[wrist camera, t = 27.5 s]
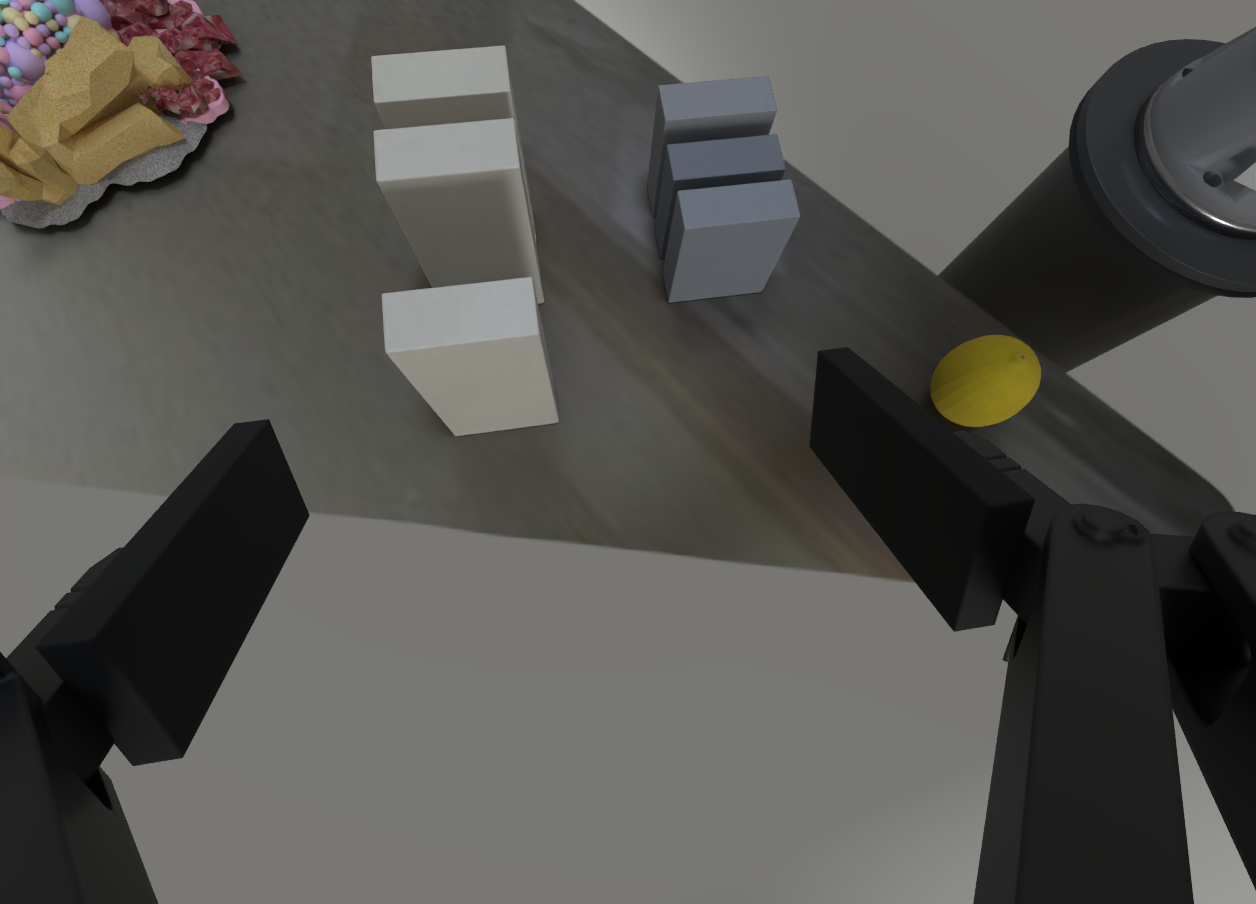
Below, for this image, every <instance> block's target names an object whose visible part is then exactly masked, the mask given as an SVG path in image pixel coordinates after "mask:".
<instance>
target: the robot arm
mask: <svg viewBox="0 0 1256 904" xmlns="http://www.w3.org/2000/svg"><path fill="white" fill-rule="evenodd" d="M1134 139H1135V147H1136V152H1137V156H1138V159H1139V161H1140V164H1141V166H1142V168H1143V171H1144V172H1145V174H1146V176H1147V178H1148V179H1149V181H1150V182H1151V184H1152V185H1153V187H1154V188H1155V189H1156V190H1157V192H1158V193H1159V194H1160V195H1161V196H1162V197H1163V198H1164V199H1165V200H1166V201H1167V202H1168V203H1169V204H1170V205H1171V206H1172V207H1173V208H1174V209H1176V210H1177V211H1178V212H1180V213H1181V214H1182V215H1184V216H1185V217H1187V218H1188V219H1190V220H1191V221H1193V222H1195V223H1197V224H1198V225H1200V226H1202V227H1205V228H1207V229H1209V230H1211V231H1214V232H1217V233H1219V234H1223V235H1226V236H1230V237H1235V238H1241V239H1252V240H1256V27H1255V28H1253V29H1251V30H1249V31H1248V32H1246V33H1244V34H1242V35H1241V36H1239V37H1237V38H1235V39H1233V40H1231V41H1230V42H1228V43H1226V44H1224V45H1222V46H1221V47H1219V48H1217V49H1216V50H1214V51H1212V52H1211V53H1209V54H1207V55H1206V56H1204V57H1202V58H1199V59H1197V60H1195V61H1194V62H1192V63H1190V64H1188V65H1186V66H1185V67H1183V68H1182V69H1181V70H1179V71H1178V72H1176V73H1175V74H1173V75H1172V76H1171V77H1169V78H1168V79H1167V80H1166V81H1165V82H1164V83H1163V84H1162V85H1161V86H1159V87H1158V88H1157V89H1156V90H1155V91H1154V92H1153V93H1152V94H1151V95H1150V96H1149V97H1148V98H1147V99H1146V101H1145V102H1144V103H1143V105H1142V107H1141V109H1140V111H1139V113H1138V116H1137V119H1136V123H1135V130H1134ZM810 448H811V449H812V451H813V452H814V453H815V455H816V456H817V457H818V458H819V460H820V461H821V462H822V463H823V465H824V466H825V467H826V469H827V470H828V471H829V472H830V474H831V475H832V476H833V478H834V479H835V480H836V481H837V483H838V484H839V485H840V487H841V488H842V489H843V490H844V492H845V493H846V494H847V495H848V497H849V498H850V499H851V501H852V502H853V503H854V504H855V506H856V507H857V508H858V510H859V511H860V512H861V513H862V515H863V516H864V517H865V518H866V520H867V521H868V522H869V524H870V525H871V526H872V527H873V529H874V530H875V531H876V533H877V534H878V535H879V536H880V538H881V539H882V540H883V542H884V543H885V544H886V545H887V547H888V548H889V549H890V550H891V552H892V553H893V554H894V556H895V557H896V558H897V559H898V561H899V562H900V563H901V565H902V566H903V567H904V568H905V570H906V571H907V572H908V573H909V575H910V576H911V577H912V579H913V580H914V581H915V582H916V584H917V585H918V586H919V588H920V589H921V590H922V591H923V593H924V594H925V595H926V597H927V598H928V599H929V600H930V602H931V603H932V604H933V605H934V606H935V608H936V609H937V611H938V612H939V613H940V614H941V616H942V617H943V618H944V619H945V621H946V622H947V623H948V625H949V626H950V627H951V628H952V630H953V631H960V630H966V629H972V628H979V627H985V626H991V625H995V622H996V618H997V616H998V612H999V609H1000V606H1001V603H1002V600H1004V601H1006V603H1007V604H1008V605H1009V606H1010V607H1011V608H1012V609H1013V610H1014V611H1015V612H1016V614H1017V615H1018V617H1017V620H1016V623H1015V625H1014V628H1013V632H1012V634H1011V637H1010V640H1009V643H1008V646H1007V649H1006V651H1005V654H1004V658H1003V660H1004V661H1007V662H1008V668H1007V675H1006V682H1005V688H1004V695H1003V703H1002V709H1001V716H1000V723H999V730H998V737H997V744H996V751H995V758H994V764H993V772H992V778H991V785H990V792H989V799H988V806H987V813H986V820H985V827H984V833H983V840H982V848H981V854H980V861H979V868H978V876H977V882H976V889H975V896H974V903H973V904H1194V900H1193V892H1192V882H1191V874H1190V864H1189V855H1188V846H1187V837H1186V828H1185V819H1184V810H1183V802H1182V793H1181V784H1180V774H1179V765H1178V757H1177V747H1176V738H1175V729H1174V720H1173V711H1174V713H1175V715H1176V717H1177V720H1178V722H1179V724H1180V726H1181V728H1182V730H1183V733H1184V735H1185V737H1186V739H1187V741H1188V743H1189V745H1190V748H1191V750H1192V752H1193V754H1194V756H1195V759H1196V761H1197V763H1198V765H1199V767H1200V770H1201V772H1202V774H1203V776H1204V778H1205V781H1206V783H1207V785H1208V787H1209V789H1210V791H1211V794H1212V796H1213V798H1214V800H1215V802H1216V804H1217V807H1218V809H1219V811H1220V813H1221V815H1222V817H1223V820H1224V822H1225V824H1226V826H1227V828H1228V831H1229V833H1230V835H1231V837H1232V839H1233V842H1234V844H1235V846H1236V848H1237V850H1238V852H1239V855H1240V857H1241V859H1242V861H1243V863H1244V866H1245V868H1246V870H1247V872H1248V874H1249V876H1250V879H1251V881H1252V883H1253V885H1254V887H1255V889H1256V515H1252V514H1247V513H1241V512H1218V513H1214V514H1211V515H1208V516H1207V517H1206V518H1205V520H1204V521H1203V522H1202V524H1201V526H1200V528H1199V530H1198V532H1197V534H1196V536H1195V537H1190V536H1175V535H1160V534H1150V532H1149V530H1148V529H1146V528H1145V527H1144V526H1143V525H1142V524H1140V523H1139V522H1138V521H1137V520H1135V519H1133V518H1131V517H1129V516H1127V515H1125V514H1123V513H1121V512H1118V511H1115V510H1112V509H1109V508H1105V507H1102V506H1096V505H1088V504H1073V505H1071V504H1070V503H1069V502H1067V501H1066V500H1065V499H1063V498H1062V497H1061V496H1059V495H1058V494H1057V493H1056V492H1054V491H1053V490H1052V489H1050V488H1049V487H1048V486H1046V485H1045V484H1044V483H1042V482H1041V481H1040V480H1039V479H1037V478H1036V477H1035V476H1033V475H1032V474H1031V473H1029V472H1028V471H1027V470H1025V469H1021V466H1020V465H1019V464H1018V463H1016V462H1015V461H1014V460H1012V459H1011V458H1007V457H1006V454H1005V453H1003V452H1002V451H1001V450H999V449H998V448H997V447H995V446H994V445H993V444H992V443H990V442H989V441H987V440H985V439H982V438H980V437H978V436H975V435H973V434H971V433H968V432H966V431H964V430H962V431H955V432H952V431H951V430H950V429H948V428H947V427H946V426H945V425H943V424H942V423H941V422H940V421H938V420H937V419H936V418H935V417H933V416H932V415H931V414H930V413H929V412H927V411H926V410H925V409H924V408H922V407H921V406H920V405H919V404H917V403H916V402H915V401H914V400H912V399H911V398H910V397H909V396H908V395H906V394H905V393H904V392H903V391H901V390H900V389H899V388H898V387H896V386H895V385H894V384H893V383H891V382H890V381H889V380H888V379H887V378H885V377H884V376H883V375H882V374H880V373H879V372H878V371H877V370H875V369H874V368H873V367H872V366H870V365H869V364H868V363H867V362H865V361H864V360H863V359H862V358H861V357H859V356H858V355H857V354H856V353H854V352H853V351H852V350H851V349H849V348H848V347H846V348H838V349H830V350H822V351H818V358H817V369H816V381H815V392H814V403H813V414H812V425H811V436H810ZM309 516H310V515H309V513H308V510H307V508H306V506H305V503H304V501H303V499H302V496H301V494H300V491H299V489H298V487H297V484H296V482H295V480H294V477H293V475H292V473H291V470H290V468H289V465H288V463H287V461H286V458H285V456H284V454H283V451H282V449H281V447H280V444H279V442H278V440H277V437H276V435H275V432H274V430H273V428H272V425H271V423H270V421H269V419H267V420H259V421H251V422H243V423H235V424H234V425H233V426H232V427H231V428H230V429H229V430H228V431H227V432H226V434H225V435H224V436H223V437H222V438H221V439H220V440H219V441H218V443H217V444H216V445H215V446H214V447H213V448H212V449H211V450H210V452H209V453H208V454H207V455H206V456H205V457H204V458H203V459H202V460H201V462H200V463H199V464H198V465H197V466H196V467H195V468H194V469H193V471H192V472H191V473H190V474H189V475H188V476H187V477H186V478H185V479H184V481H183V482H182V483H181V484H180V485H179V486H178V487H177V488H176V490H175V491H174V492H173V493H172V494H171V495H170V496H169V497H168V499H167V500H166V501H165V502H164V503H163V504H162V505H161V506H160V508H159V509H158V510H157V511H156V512H155V513H154V514H153V515H152V516H151V518H150V519H149V520H148V521H147V522H146V523H145V524H144V526H143V527H142V528H141V529H140V530H139V531H138V532H137V533H136V534H135V536H134V537H133V538H132V539H131V540H130V541H129V542H128V543H127V544H126V546H125V547H123V548H118V549H117V550H115V551H114V552H112V553H111V554H110V555H108V556H106V557H105V558H104V559H103V560H101V561H99V562H98V563H96V564H95V565H94V566H92V567H91V568H89V570H88V571H87V572H86V573H85V574H84V575H83V576H82V577H81V578H80V579H79V581H77V583H76V584H75V585H74V586H73V587H72V588H71V593H66V594H65V595H64V597H63V598H62V599H61V600H60V601H59V602H58V603H57V604H56V605H55V610H53V611H50V612H49V613H48V614H47V615H46V616H45V617H44V618H43V619H42V620H41V621H40V623H39V624H38V625H37V626H36V627H35V628H34V629H33V630H32V631H31V632H30V633H29V634H28V635H27V637H26V638H25V639H24V640H23V641H22V642H21V643H20V644H19V645H18V646H17V647H16V649H15V650H14V651H13V652H12V653H11V654H10V655H9V656H8V657H7V658H5V657H4V656H3V655H2V653H1V652H0V904H158V902H157V899H156V897H155V894H154V892H153V889H152V886H151V883H150V881H149V878H148V876H147V873H146V870H145V868H144V865H143V862H142V860H141V857H140V854H139V852H138V849H137V847H136V844H135V841H134V839H133V836H132V834H131V831H130V828H129V826H128V823H127V820H126V818H125V815H124V812H123V810H122V807H121V805H120V802H119V800H118V797H117V794H116V791H115V789H114V786H113V783H112V781H111V779H110V778H109V776H108V775H107V774H106V773H105V772H104V771H103V770H102V768H101V767H100V765H101V763H102V761H103V760H104V758H105V757H106V755H107V754H108V752H109V750H110V749H111V747H112V746H113V744H115V745H116V746H117V747H118V749H119V750H120V751H121V752H122V753H123V755H124V756H125V757H126V758H127V759H128V761H129V762H130V763H131V764H132V766H136V765H142V764H148V763H155V762H160V761H167V760H173V759H178V758H183V756H184V754H185V753H186V751H187V749H188V747H189V745H190V743H191V741H192V739H193V737H194V735H195V733H196V732H197V729H198V728H199V726H200V724H201V722H202V720H203V718H204V716H205V714H206V712H207V711H208V709H209V707H210V705H211V703H212V701H213V699H214V697H215V695H216V693H217V691H218V689H219V688H220V686H221V684H222V682H223V680H224V678H225V676H226V674H227V672H228V670H229V668H230V666H231V665H232V663H233V661H234V659H235V657H236V655H237V653H238V651H239V649H240V647H241V646H242V644H243V642H244V640H245V638H246V636H247V634H248V632H249V630H250V628H251V626H252V625H253V623H254V621H255V619H256V617H257V615H258V613H259V611H260V609H261V607H262V605H263V603H264V602H265V599H266V598H267V596H268V594H269V592H270V590H271V588H272V586H273V584H274V582H275V581H276V579H277V577H278V575H279V573H280V571H281V569H282V567H283V565H284V563H285V561H286V559H287V557H288V556H289V554H290V552H291V550H292V548H293V546H294V544H295V542H296V540H297V538H298V537H299V535H300V533H301V531H302V529H303V527H304V525H305V523H306V521H307V519H308V517H309ZM1172 709H1173V711H1172Z"/></svg>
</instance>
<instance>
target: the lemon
mask: <svg viewBox="0 0 1256 904" xmlns="http://www.w3.org/2000/svg"><path fill="white" fill-rule="evenodd" d="M1040 379H1041V367H1040V364H1039V360H1038V358H1037V356H1036V355H1035V353H1034V351H1033V350H1032V349H1031V348H1030V347H1029V346H1028V345H1026V344H1025V343H1023V342H1022V341H1020V340H1018V339H1016V338H1013V337H1010V336H1004V335H987V336H982V337H979V338H976V339H973V340H969V341H967V342H965V343H963V344H961V345H959V346H958V347H956V348H955V349H953V350H952V351H950V352H949V353H948V354H947V355H946V356H945V357H944V358H943V359H942V360H941V361H940V363H939V364H938V365H937V367H936V368H935V371H934V373H933V375H932V378H931V385H930V392H931V398H932V400H933V403H934V405H935V407H936V408H937V409H938V411H939V412H940V413H941V414H942V415H943V416H944V417H945V418H947V419H948V420H950V421H952V422H954V423H956V424H960V425H963V426H969V427H983V426H988V425H993V424H997V423H999V422H1002V421H1004V420H1006V419H1008V418H1010V417H1012V416H1013V415H1015V414H1016V413H1018V412H1019V411H1020V410H1021V409H1022V408H1023V407H1024V406H1025V405H1026V404H1028V403H1029V402H1030V400H1031V399H1032V398H1033V396H1034V395H1035V393H1036V391H1037V389H1038V387H1039V384H1040Z"/></svg>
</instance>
